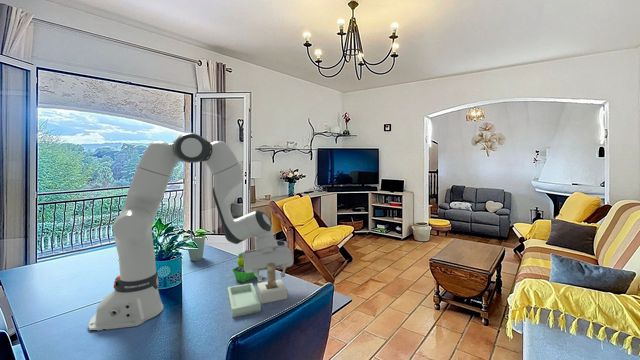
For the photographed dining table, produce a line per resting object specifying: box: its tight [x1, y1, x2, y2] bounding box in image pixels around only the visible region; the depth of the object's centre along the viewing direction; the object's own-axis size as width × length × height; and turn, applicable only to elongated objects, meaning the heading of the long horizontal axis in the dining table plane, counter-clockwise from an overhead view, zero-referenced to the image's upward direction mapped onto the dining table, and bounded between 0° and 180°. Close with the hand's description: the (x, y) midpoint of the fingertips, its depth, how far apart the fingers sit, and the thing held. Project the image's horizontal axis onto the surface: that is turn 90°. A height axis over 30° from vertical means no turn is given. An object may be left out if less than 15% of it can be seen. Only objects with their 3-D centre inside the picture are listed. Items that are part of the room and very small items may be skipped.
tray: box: [227, 282, 262, 318], centre depth 116 cm, size 10×19×3 cm, turn 21°
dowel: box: [266, 263, 277, 289], centre depth 120 cm, size 3×3×13 cm
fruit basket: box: [232, 252, 260, 283], centre depth 139 cm, size 11×9×11 cm
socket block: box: [256, 278, 288, 304], centre depth 121 cm, size 10×10×4 cm
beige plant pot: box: [187, 236, 206, 262], centre depth 165 cm, size 11×11×15 cm
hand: (271, 278), depth 120 cm, fingers open, 8 cm apart
